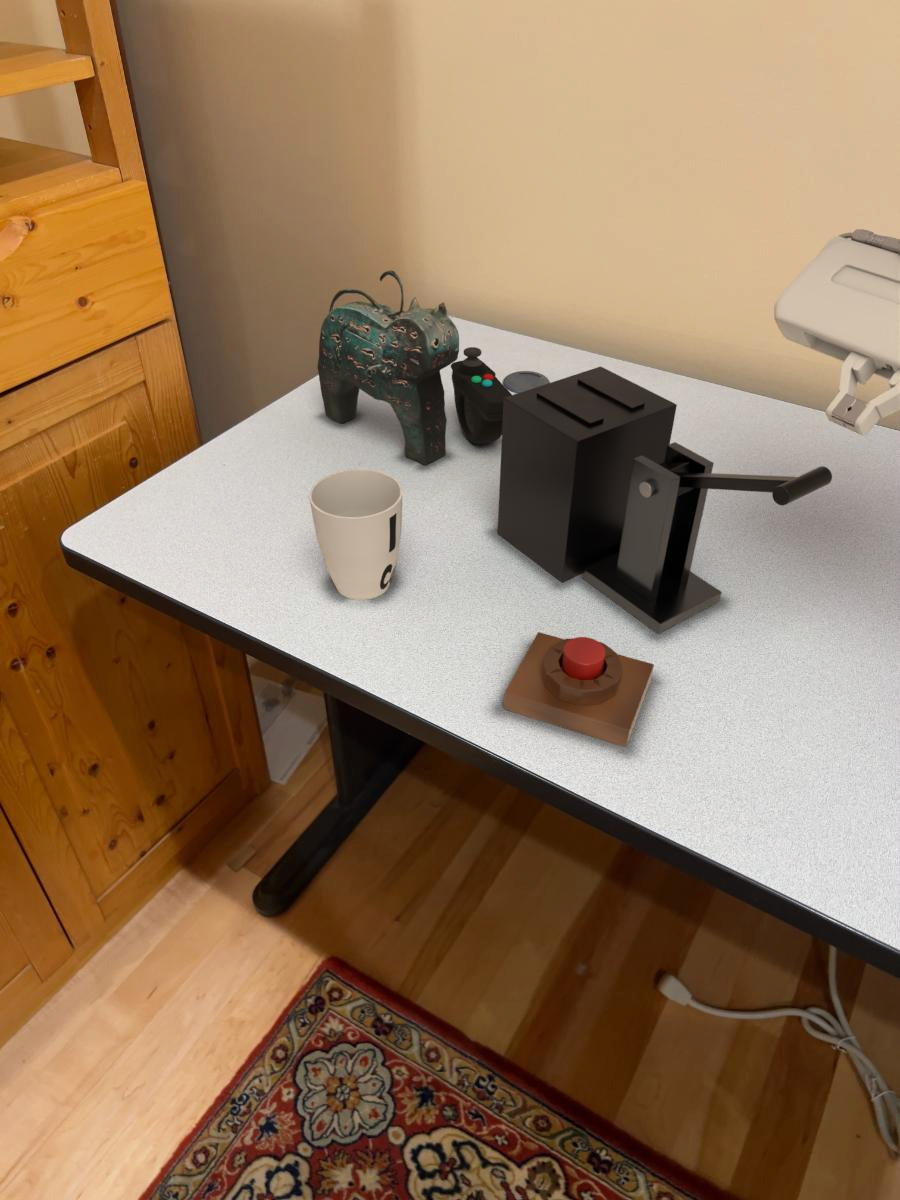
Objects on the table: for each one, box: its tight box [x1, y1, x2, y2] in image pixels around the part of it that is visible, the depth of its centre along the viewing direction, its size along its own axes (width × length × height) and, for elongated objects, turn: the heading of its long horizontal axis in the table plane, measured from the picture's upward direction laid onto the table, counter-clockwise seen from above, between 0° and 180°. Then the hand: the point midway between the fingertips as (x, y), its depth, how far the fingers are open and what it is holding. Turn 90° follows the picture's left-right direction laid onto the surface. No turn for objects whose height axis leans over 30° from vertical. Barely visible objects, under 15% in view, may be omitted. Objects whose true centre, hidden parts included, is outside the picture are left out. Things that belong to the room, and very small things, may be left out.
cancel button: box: [562, 636, 605, 680], centre depth 69 cm, size 3×3×2 cm
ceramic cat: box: [317, 269, 460, 466], centre depth 99 cm, size 20×6×20 cm, turn 46°
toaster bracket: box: [581, 441, 722, 635], centre depth 78 cm, size 10×8×14 cm
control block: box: [503, 631, 655, 748], centre depth 71 cm, size 10×8×4 cm
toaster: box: [496, 366, 678, 584], centre depth 84 cm, size 10×12×15 cm
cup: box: [308, 468, 403, 601], centre depth 80 cm, size 8×8×10 cm
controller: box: [450, 346, 513, 445], centre depth 101 cm, size 4×12×10 cm, turn 21°
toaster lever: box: [658, 462, 833, 507], centre depth 70 cm, size 15×5×2 cm, turn 36°
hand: (844, 425), depth 63 cm, fingers closed
